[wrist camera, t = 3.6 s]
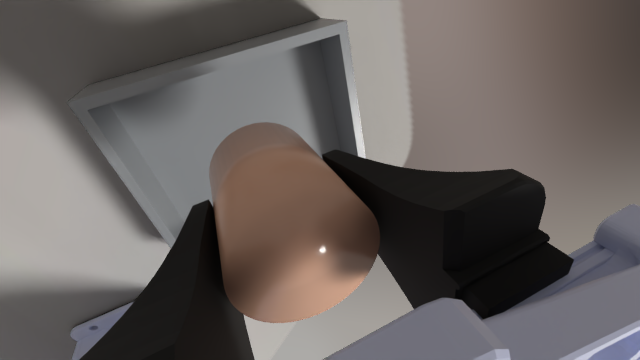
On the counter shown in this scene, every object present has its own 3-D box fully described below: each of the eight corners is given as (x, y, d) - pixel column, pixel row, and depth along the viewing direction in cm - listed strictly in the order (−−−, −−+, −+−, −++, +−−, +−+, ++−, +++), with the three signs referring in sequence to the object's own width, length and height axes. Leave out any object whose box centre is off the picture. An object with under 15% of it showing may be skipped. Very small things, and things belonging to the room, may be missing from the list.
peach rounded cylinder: (234, 230, 14) (259, 345, 9) (188, 146, 12) (189, 241, 7) (321, 192, 15) (387, 278, 10) (297, 106, 12) (368, 164, 8)
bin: (192, 245, 22) (193, 280, 19) (88, 84, 15) (66, 102, 12) (350, 180, 24) (371, 203, 22) (321, 18, 18) (346, 20, 15)
